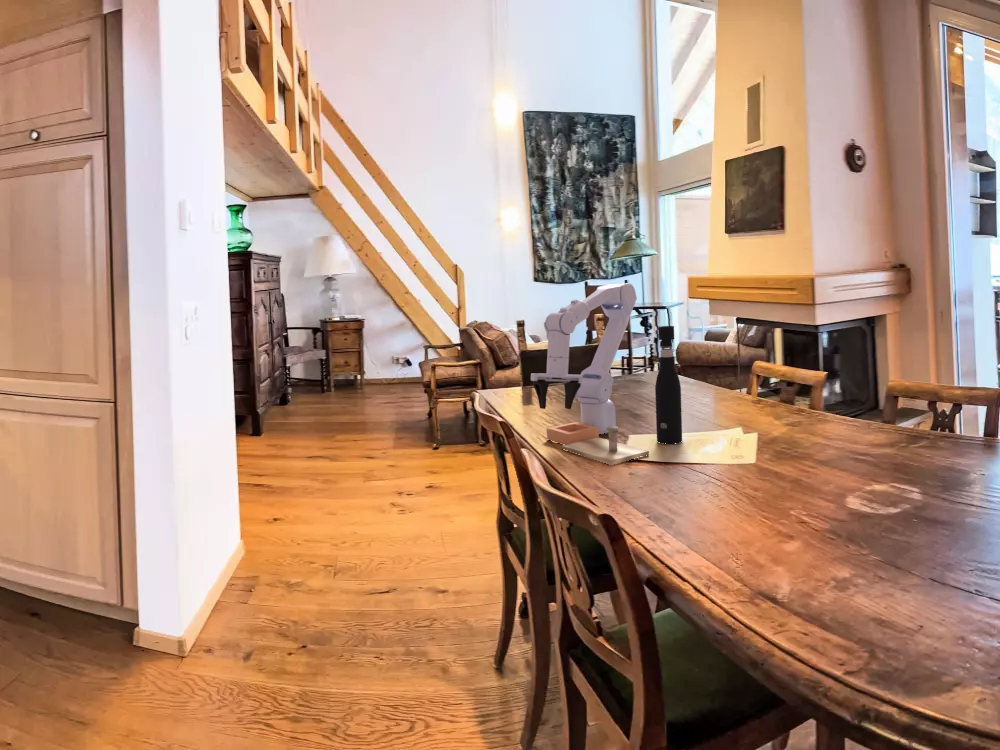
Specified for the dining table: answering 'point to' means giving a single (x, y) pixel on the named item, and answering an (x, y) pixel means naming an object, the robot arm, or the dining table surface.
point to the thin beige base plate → (606, 449)
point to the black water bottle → (668, 392)
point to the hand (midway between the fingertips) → (555, 408)
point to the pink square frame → (572, 433)
